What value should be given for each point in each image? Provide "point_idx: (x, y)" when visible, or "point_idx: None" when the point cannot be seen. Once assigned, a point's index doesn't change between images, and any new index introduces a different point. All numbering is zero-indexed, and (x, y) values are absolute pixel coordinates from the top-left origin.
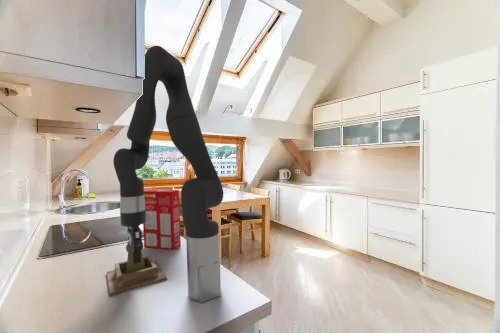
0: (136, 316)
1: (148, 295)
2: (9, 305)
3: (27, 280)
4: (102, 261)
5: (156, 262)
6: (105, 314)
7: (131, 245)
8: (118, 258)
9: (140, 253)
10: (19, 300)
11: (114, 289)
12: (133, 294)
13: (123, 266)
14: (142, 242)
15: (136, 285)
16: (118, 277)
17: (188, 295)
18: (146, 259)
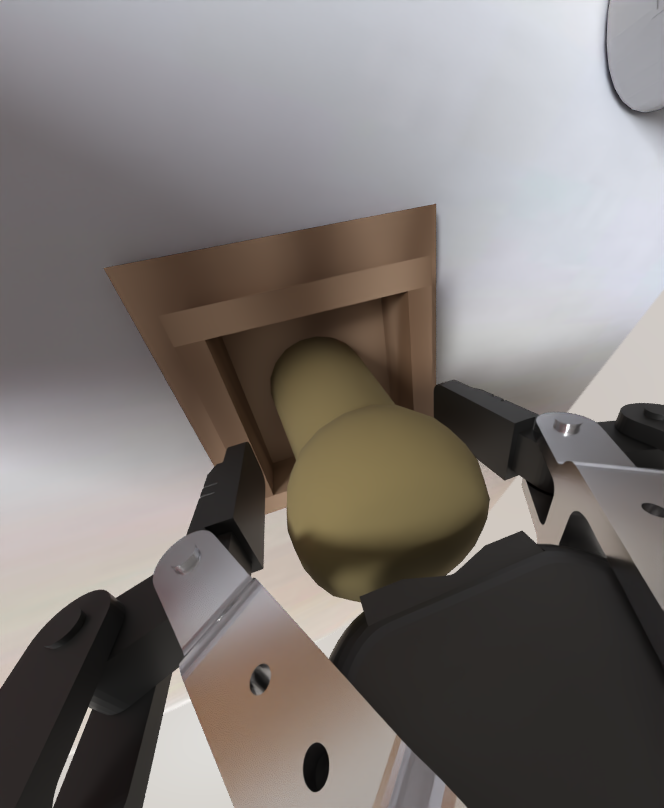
0: (583, 344)
1: (506, 312)
2: (352, 618)
3: None
4: (61, 574)
5: (164, 264)
6: None
7: (542, 542)
8: (8, 522)
9: (508, 406)
10: (337, 617)
11: None
12: (465, 370)
13: (265, 465)
14: (406, 449)
15: (433, 368)
16: None
17: (647, 110)
18: (212, 345)
